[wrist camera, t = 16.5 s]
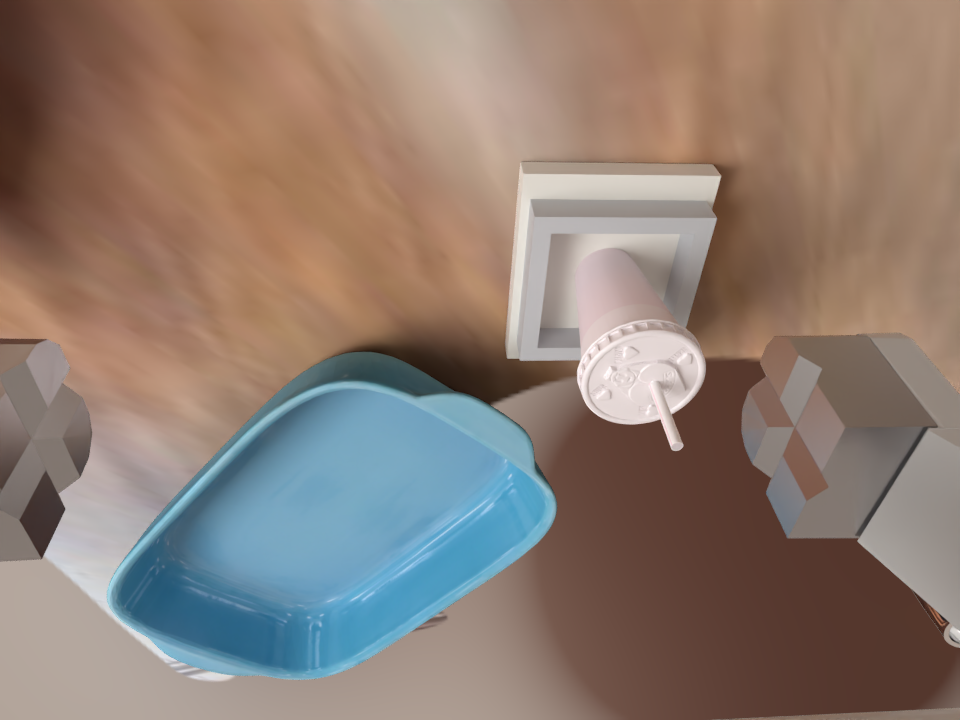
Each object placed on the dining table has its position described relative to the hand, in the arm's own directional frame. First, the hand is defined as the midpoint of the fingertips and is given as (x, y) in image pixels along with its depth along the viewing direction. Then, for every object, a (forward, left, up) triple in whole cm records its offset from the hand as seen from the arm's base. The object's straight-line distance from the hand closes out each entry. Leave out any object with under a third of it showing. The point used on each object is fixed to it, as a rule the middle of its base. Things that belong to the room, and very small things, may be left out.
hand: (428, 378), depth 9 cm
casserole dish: (+7, +39, -32) cm, 51 cm away
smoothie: (-11, +18, -30) cm, 36 cm away
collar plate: (-11, +18, -31) cm, 38 cm away
